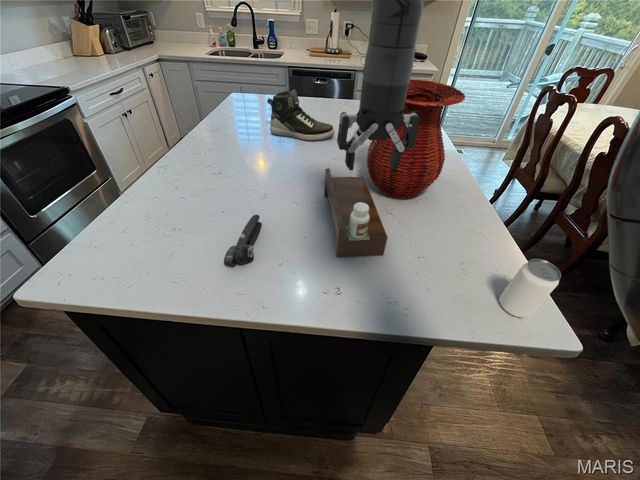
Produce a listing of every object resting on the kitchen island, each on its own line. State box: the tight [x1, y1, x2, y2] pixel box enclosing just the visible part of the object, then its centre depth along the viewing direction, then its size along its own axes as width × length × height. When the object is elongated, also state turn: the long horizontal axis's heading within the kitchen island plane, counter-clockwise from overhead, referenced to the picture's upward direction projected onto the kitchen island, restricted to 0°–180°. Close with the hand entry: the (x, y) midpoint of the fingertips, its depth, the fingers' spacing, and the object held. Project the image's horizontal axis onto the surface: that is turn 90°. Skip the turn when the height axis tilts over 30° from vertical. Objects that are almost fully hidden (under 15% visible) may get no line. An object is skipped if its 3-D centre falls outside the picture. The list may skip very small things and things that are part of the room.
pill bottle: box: [348, 202, 370, 238], centre depth 68 cm, size 4×4×8 cm
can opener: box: [223, 214, 263, 267], centre depth 74 cm, size 18×7×6 cm, turn 170°
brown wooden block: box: [323, 168, 388, 259], centre depth 81 cm, size 28×12×9 cm, turn 6°
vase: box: [366, 78, 466, 199], centre depth 88 cm, size 23×24×30 cm
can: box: [498, 258, 562, 318], centre depth 60 cm, size 6×6×12 cm
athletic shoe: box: [266, 88, 335, 142], centre depth 120 cm, size 10×28×18 cm, turn 78°
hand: (371, 167), depth 58 cm, fingers open, 8 cm apart
